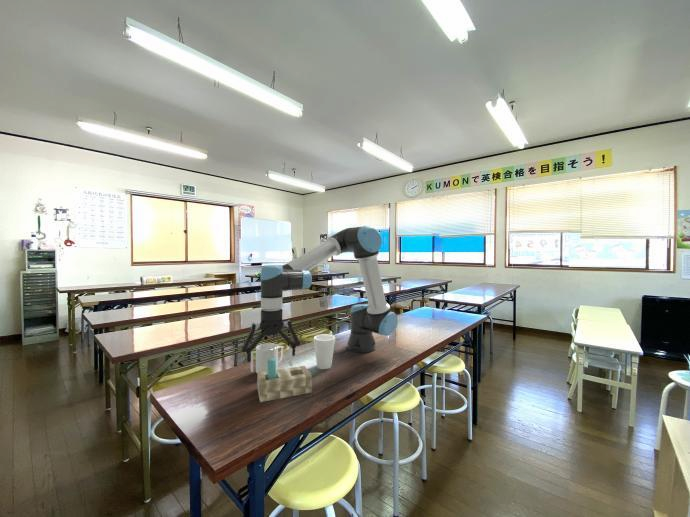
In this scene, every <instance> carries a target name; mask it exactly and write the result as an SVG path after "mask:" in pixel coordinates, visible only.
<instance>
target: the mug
mask: <svg viewBox="0 0 690 517" xmlns="http://www.w3.org/2000/svg"><path fill="white" fill-rule="evenodd" d="M284 348H285V347H284V346H283V345H282V346H281V345H280V346H279V345H278V344H277V343H272V342H266V343H261V344H257V345H256V346H255V372H256V374H257V373H259V372H266V371H268V359H271V358H275V359H276V370H279V367H278V366H279V365H280V364H281V362H282V361H283V360H284V351H285V350H284ZM279 349H280V350H281V351H280V352H281V354H280V359H279V351H278V350H279Z"/></svg>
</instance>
